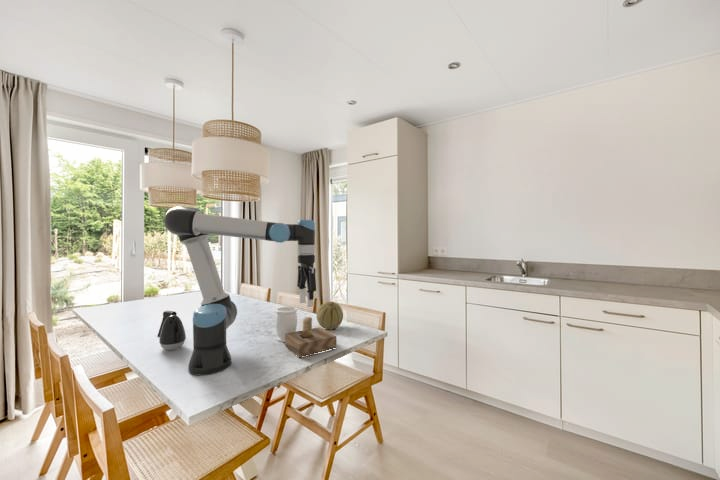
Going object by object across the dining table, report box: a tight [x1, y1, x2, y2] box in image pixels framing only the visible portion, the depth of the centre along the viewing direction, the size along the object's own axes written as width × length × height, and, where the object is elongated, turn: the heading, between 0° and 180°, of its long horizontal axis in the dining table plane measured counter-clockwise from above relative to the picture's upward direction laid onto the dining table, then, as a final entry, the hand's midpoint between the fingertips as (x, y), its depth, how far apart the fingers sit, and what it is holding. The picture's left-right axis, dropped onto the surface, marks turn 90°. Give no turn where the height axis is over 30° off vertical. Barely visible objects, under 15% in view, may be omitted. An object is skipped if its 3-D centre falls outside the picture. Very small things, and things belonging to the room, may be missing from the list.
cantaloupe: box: [316, 301, 344, 330], centre depth 169 cm, size 15×15×15 cm
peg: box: [302, 316, 313, 339], centre depth 139 cm, size 4×4×12 cm
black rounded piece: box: [157, 310, 178, 338], centre depth 159 cm, size 9×6×12 cm, turn 159°
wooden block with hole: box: [284, 326, 337, 358], centre depth 141 cm, size 18×16×6 cm
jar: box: [274, 306, 298, 343], centre depth 152 cm, size 11×10×15 cm
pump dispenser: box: [159, 315, 187, 352], centre depth 140 cm, size 10×10×15 cm
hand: (306, 304), depth 139 cm, fingers open, 8 cm apart
